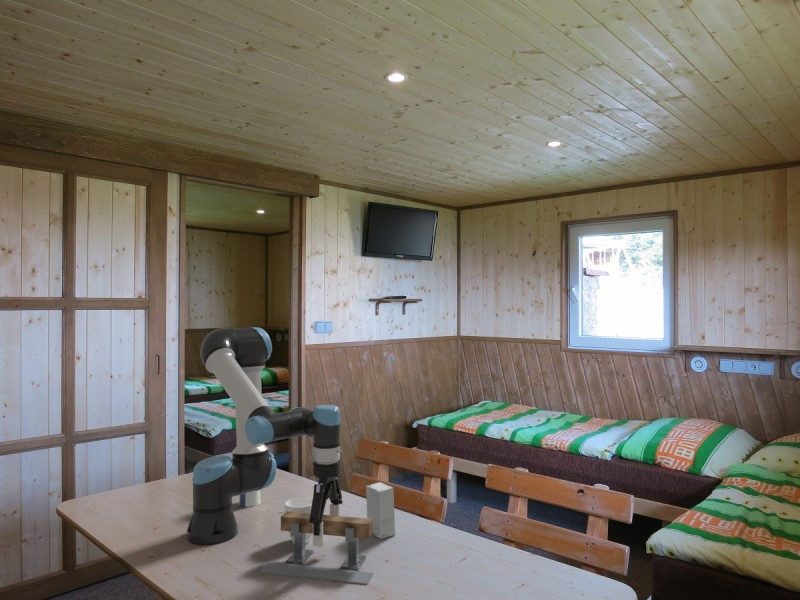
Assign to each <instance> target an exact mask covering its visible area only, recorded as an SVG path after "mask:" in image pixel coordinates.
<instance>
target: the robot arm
mask: <svg viewBox="0 0 800 600" xmlns="http://www.w3.org/2000/svg"><path fill="white" fill-rule="evenodd" d="M199 351H200V352H199V355H200V360H201V362H202V364H203V367H204V368H205V369H206V371H207V372H208V373H210V374H213V375H214V376H215V377H216V379H217V381H218V382H219V383H220V385H221V386H222V388H223V389H224V390H225V392H226V394H227V395H228V396H229V397H230V399H231V401H232V403H233V404H234V405H235V429H236V430H235V432H236V433H235V434H236V447H235V448H234V449H233V450H232V451H231V452H232V453H231V454H232V457H231V456H229V455H223V454H221V455H218V456H216V455H215V456H214V455H213V456H209V457H207V458H203V459H202V460H200V461H199V462H197V463H196V464H195V466H194V467H193V471H192V514H191V517H190V519H189V523H188V526H187V530H186V540H187V541H188V542H190V543H192V544H196V545H215V544H218V543H222V542H223V543H224V542H226V541H229V540H231V539H233V538H234V537H235V536H237V534H238V523H237V520H236V519H237V518H236V517H235V514H234V510H233V497H237V496H239V495H241V494H245V493H248V492H252V491H258V490H260V491H261V490H262V489H266V488H268V487H270V486H271V484H272V483H273V482H274V481H275V478H276V475H277V461H276V459H275V456H274V454H273V453H272V452H270V451H269V447H268V446H267V445H266V444H269V443H271V442H277V441H280V440H286V439H292V438H296V437H301V436H302V437H303V436H306V437H310V438H313V439H312V440H313V443H312V445H313V446H312V460H313V461H314V462H313V463H312V465H313V466H312V467H313V470H312V473H313V476H314V477H316V478H317V479H318V482H317V484H316V483H315V484H313V485H314V486H313V494H312V495H313V497H312V507H311V513H310V519H309V523H313V534H312V547H316V548H317V547H318V548H323V547H324V535H323V522H322V518H323V515H324V513H325V508H326V504H327V500H329V502H330V504H329V515H332V516H340V505H342V504H343V493H342V489H341V485H340V484H341V483H340V479H339V475H340V474H341V462H340V459H341V453H342V449H341V423H342V422H341V411H340V408H339V407H338V406H337V405H335V404H320V405H316V406H314V407H313V409H309V408H307V407H306V408H305V407H303V406H300V407H297V406H296V407H292V408H291V409H289V410H288V411H282V412H281V411H280V412H274V409H272V407H270V404H268V403H267V401H266V399H265V398H264V397H263V394H262V371H263V370H264V368H265V367H266V361H267V360H269V359H270V357H271V354H272V352H273V345H272V341H271V338H270V336H269V334H268V333H267V331H266V330H265V329H263V328H261V327H258V326H257V327H254V326H246V327H242V326H241V327H220V328H216V329H214V330H212V331H211V332H209V333H208V334H207V335H206V336H205V337H204V338H203V341H202V342H201V345H200V350H199Z"/></svg>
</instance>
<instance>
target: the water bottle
mask: <svg viewBox="0 0 800 600" xmlns="http://www.w3.org/2000/svg"><path fill="white" fill-rule="evenodd" d="M238 497H239V498H238V506H240V507H244V508H252V507H255V506H256V507H257V506H258V505H260V504H261V490H258V491H252V492H248V493H245V494H241V495H238Z"/></svg>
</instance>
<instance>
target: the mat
mask: <svg viewBox="0 0 800 600" xmlns="http://www.w3.org/2000/svg"><path fill="white" fill-rule="evenodd" d="M259 573H260V574H268V575H278V576H284V577H285V576H286V577H287V576H288V577H295V578H304V579H312V580H321V581H329V582H339V583H348V584H356V585H365V586H367V585H368V583H369V582H370V580H371V579H372V577H373V575H374V572H371V571H362V570H361V571H360V570H358V571H356V570H347V569H340V568H334V567H333V568H332V567H325V566H323V567H322V566H316V565H315V566H314V565H304V564H303V565H301V564H291V563H286V562H278V561H270V560H269V561H268V562H267V563H266V564H265V565H264V566H263V567H262V568H261V569H260V570H259Z"/></svg>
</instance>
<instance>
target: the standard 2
mask: <svg viewBox="0 0 800 600" xmlns="http://www.w3.org/2000/svg"><path fill="white" fill-rule="evenodd" d="M344 541H345V542H348V543H347V546H348V547H347V552H348V554H347V556H346V558H345V560H344V561H343V562H342V564H341V565H340V568H339V569H344V570H353V571H360V569H361V567H362V565H363V564H364V563H365V561H366V558H367V555H362V554H360V538H355V528H351V527H346V528H345V540H344Z"/></svg>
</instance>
